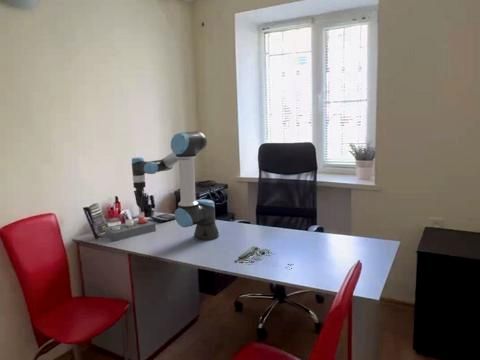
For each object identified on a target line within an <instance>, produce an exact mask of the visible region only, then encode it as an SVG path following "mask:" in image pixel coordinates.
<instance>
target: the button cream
mask: <svg viewBox="0 0 480 360" xmlns="http://www.w3.org/2000/svg"><path fill="white" fill-rule="evenodd" d="M133 221H134V219H132V218H131V219H126V220H124V223H125V225H126V227H127V228H128V227H132V226H134V223H133Z"/></svg>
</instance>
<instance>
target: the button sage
mask: <svg viewBox="0 0 480 360" xmlns="http://www.w3.org/2000/svg"><path fill="white" fill-rule="evenodd" d="M112 226H113V227H112V230H113V231H115V230H120V226H115V225H112Z"/></svg>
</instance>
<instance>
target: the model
mask: <svg viewBox="0 0 480 360" xmlns="http://www.w3.org/2000/svg"><path fill="white" fill-rule="evenodd" d="M269 251H273V250H270V249H266V248H260V247H257V246H253V245H252V246H251V247H250V248H248V249H247V250H245V251H244V252H243V253H242V254H240V255H239V256H238V259H236V260H234V263H237V262H239V263H238V264H243V263H244V261H251V262H245V263H255V262H256V261H262V260H261V259H264V258H265V255H266V254H273V253H272V252H271V253H270V252H269ZM258 252H259V253H258ZM265 252H266V253H265ZM267 252H268V253H267ZM256 253H257V254H256ZM255 254H256V255H255ZM260 254H262V255H264V254H265V255H264V257H263V256H262V255H260ZM253 255H254V256H253ZM250 256H253V257H251V258H249V257H250ZM260 256H262V257H261V259H260ZM268 257H271V255H268ZM248 258H249V259H248ZM252 259H255V260H252ZM254 261H255V262H254Z"/></svg>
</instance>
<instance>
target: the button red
mask: <svg viewBox="0 0 480 360" xmlns="http://www.w3.org/2000/svg"><path fill="white" fill-rule="evenodd" d="M137 220H138V223H139V224H140V225H141V224H145V223H146V220H147V217H146V216H144V217H138V218H137Z"/></svg>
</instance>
